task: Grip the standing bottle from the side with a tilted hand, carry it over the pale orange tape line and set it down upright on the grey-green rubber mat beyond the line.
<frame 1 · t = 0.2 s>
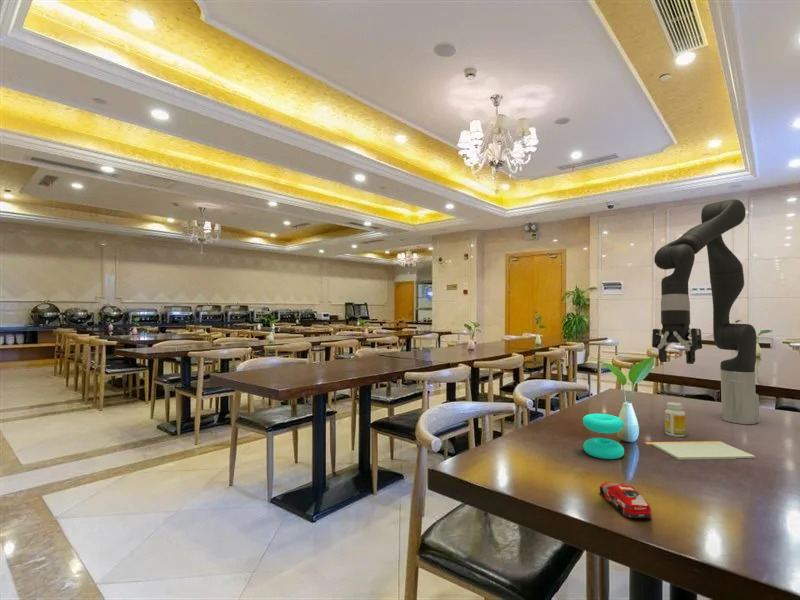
hand: (676, 362, 128), 22 cm above the table, tool pointing down, fingers open, 8 cm apart
donuts: (603, 454, 114), on the table
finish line: (684, 443, 121), on the table
supplement bottle: (675, 435, 130), on the table
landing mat: (701, 451, 114), on the table
race car: (624, 507, 85), on the table
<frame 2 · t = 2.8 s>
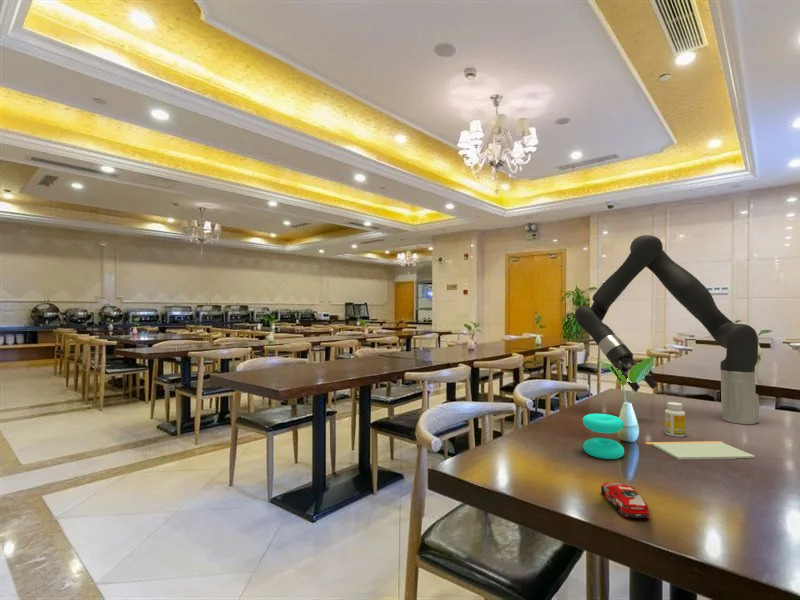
hand: (646, 388, 138), 13 cm above the table, tool tilted 45°, fingers open, 8 cm apart
nothing on the table moved.
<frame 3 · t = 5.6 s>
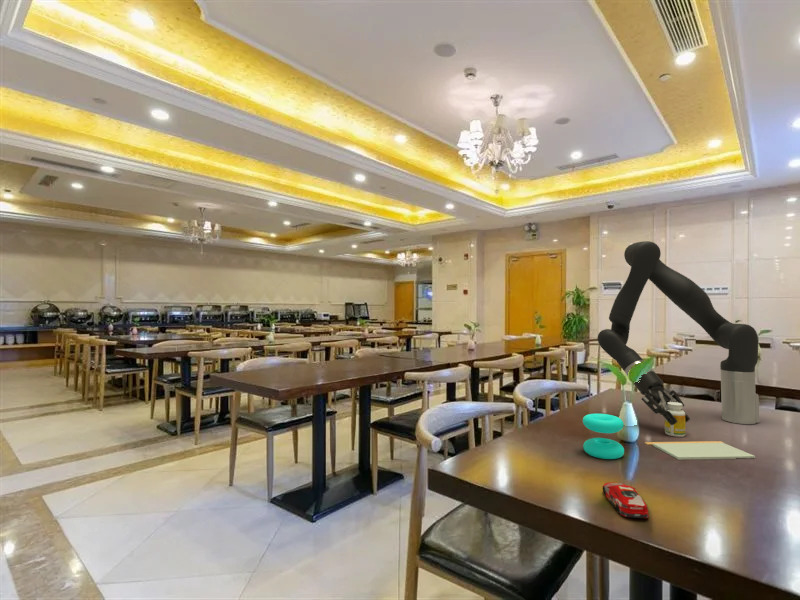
hand: (680, 422, 128), 4 cm above the table, tool tilted 45°, fingers closed on supplement bottle, 5 cm apart
supplement bottle: (675, 435, 130), on the table, touching gripper
everything else where it was.
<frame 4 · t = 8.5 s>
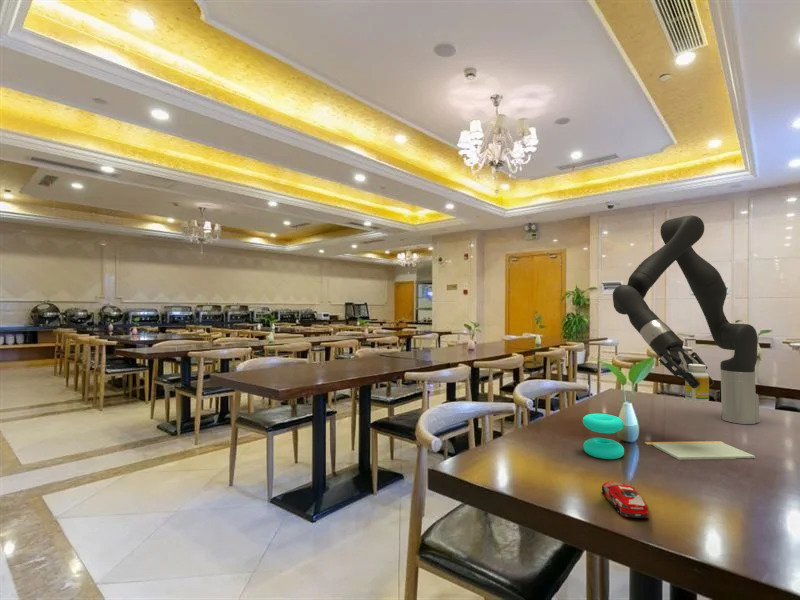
hand: (704, 385, 114), 18 cm above the table, tool tilted 45°, fingers closed on supplement bottle, 5 cm apart
supplement bottle: (697, 400, 115), point 14 cm above the table, touching gripper
everything else where it was.
when the fingers open (6 cm above the table, at t = 11.4 s): supplement bottle drops 1 cm, resting on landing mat.
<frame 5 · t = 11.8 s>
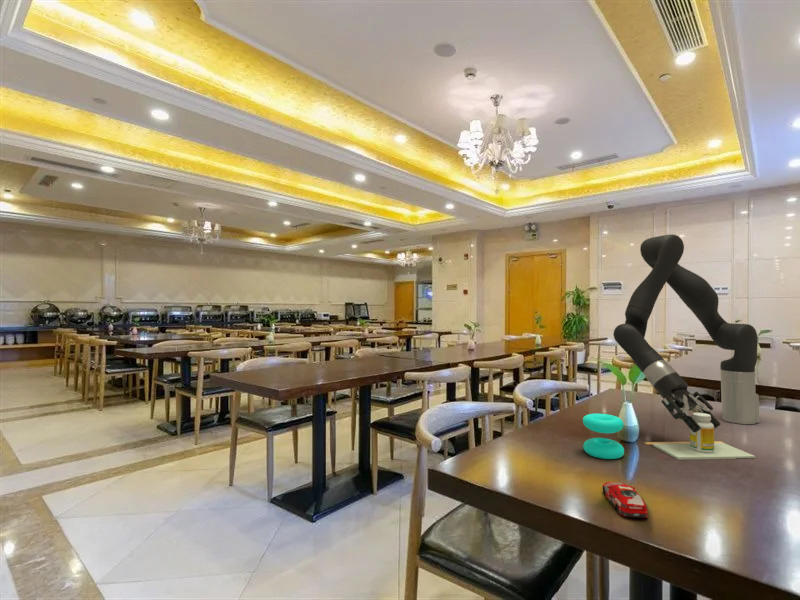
hand: (707, 428, 113), 7 cm above the table, tool tilted 45°, fingers open, 8 cm apart
supplement bottle: (702, 450, 114), resting on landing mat
everything else where it was.
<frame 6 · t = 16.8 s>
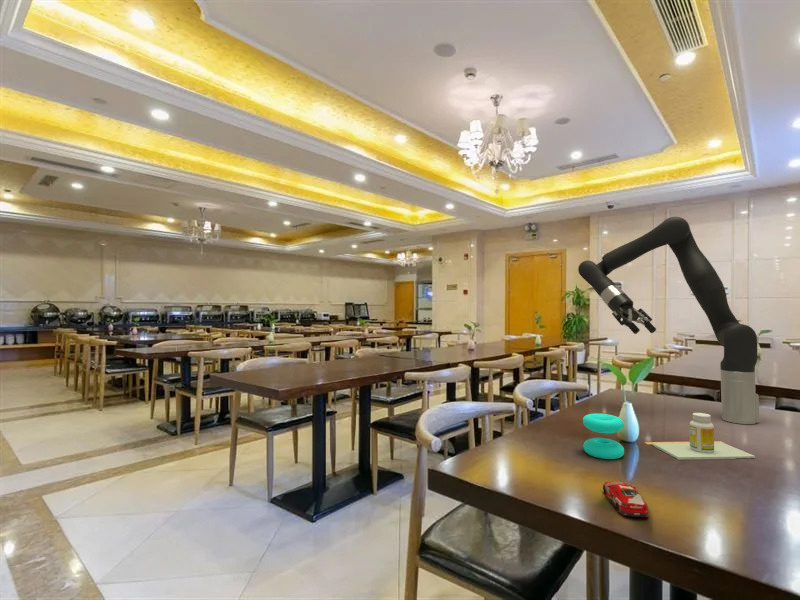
hand: (645, 331, 147), 31 cm above the table, tool tilted 45°, fingers open, 8 cm apart
nothing on the table moved.
at the end: supplement bottle inside the target area (0.2 cm from its centre), resting on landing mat; supplement bottle tilted 0°; the gripper is holding nothing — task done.
